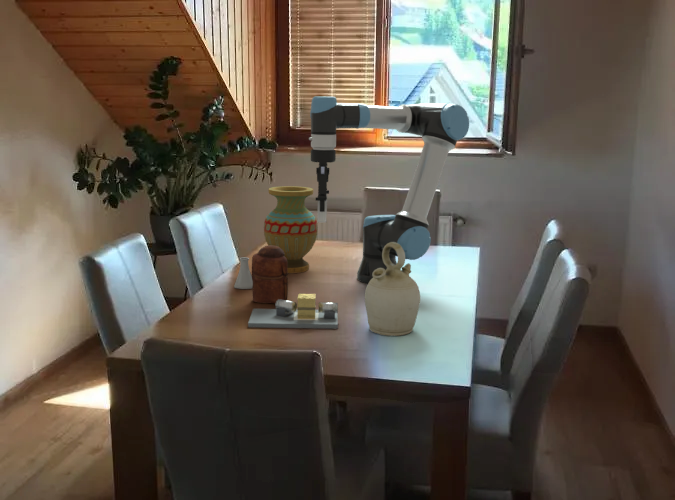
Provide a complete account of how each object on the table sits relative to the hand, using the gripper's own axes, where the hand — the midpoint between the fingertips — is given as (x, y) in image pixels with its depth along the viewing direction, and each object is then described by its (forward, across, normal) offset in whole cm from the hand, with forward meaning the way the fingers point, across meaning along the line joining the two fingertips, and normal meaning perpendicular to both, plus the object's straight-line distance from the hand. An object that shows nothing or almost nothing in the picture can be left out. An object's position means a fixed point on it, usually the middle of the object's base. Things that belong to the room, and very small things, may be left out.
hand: (322, 218), depth 222 cm
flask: (+27, -17, -26) cm, 41 cm away
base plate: (+27, +19, -8) cm, 34 cm away
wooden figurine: (+27, 0, -16) cm, 31 cm away
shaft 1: (+25, +18, -10) cm, 33 cm away
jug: (+27, +26, +20) cm, 42 cm away
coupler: (+25, +19, -4) cm, 32 cm away
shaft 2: (+26, +19, +2) cm, 32 cm away
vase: (+27, -44, -12) cm, 53 cm away
